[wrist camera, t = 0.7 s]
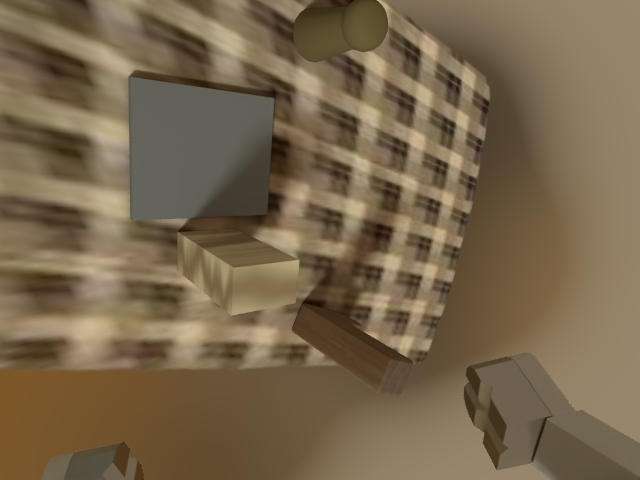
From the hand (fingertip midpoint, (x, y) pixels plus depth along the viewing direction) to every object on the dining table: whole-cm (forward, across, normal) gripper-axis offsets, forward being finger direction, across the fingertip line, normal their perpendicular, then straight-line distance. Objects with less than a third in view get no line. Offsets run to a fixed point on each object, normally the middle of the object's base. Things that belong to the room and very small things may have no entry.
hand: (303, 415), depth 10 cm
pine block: (+37, +9, +19) cm, 43 cm away
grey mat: (+41, +7, +9) cm, 42 cm away
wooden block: (+40, -2, +38) cm, 55 cm away
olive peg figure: (+51, -8, +1) cm, 52 cm away
